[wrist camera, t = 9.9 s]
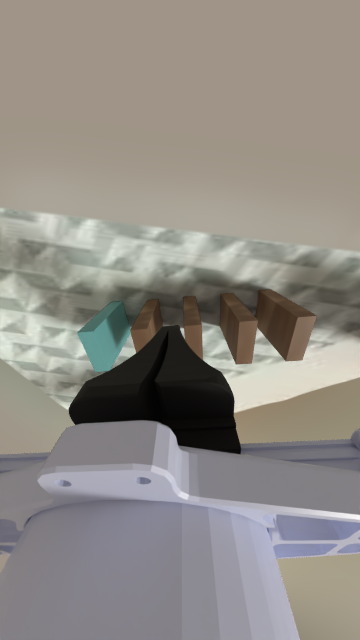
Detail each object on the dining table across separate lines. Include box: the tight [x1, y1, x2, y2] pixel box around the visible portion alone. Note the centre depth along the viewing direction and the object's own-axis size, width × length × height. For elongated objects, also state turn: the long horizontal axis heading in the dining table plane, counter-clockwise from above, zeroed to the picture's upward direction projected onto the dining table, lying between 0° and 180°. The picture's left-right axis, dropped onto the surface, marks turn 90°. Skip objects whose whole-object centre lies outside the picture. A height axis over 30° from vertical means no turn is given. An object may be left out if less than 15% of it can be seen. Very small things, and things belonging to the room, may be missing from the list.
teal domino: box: [77, 301, 131, 372], centre depth 20 cm, size 2×5×8 cm, turn 6°
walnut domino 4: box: [255, 290, 317, 361], centre depth 19 cm, size 2×5×8 cm, turn 5°
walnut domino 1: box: [130, 299, 163, 353], centre depth 19 cm, size 2×5×8 cm, turn 6°
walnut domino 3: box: [220, 293, 258, 364], centre depth 19 cm, size 2×5×8 cm, turn 5°
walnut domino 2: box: [183, 296, 203, 360], centre depth 19 cm, size 2×5×8 cm, turn 6°
